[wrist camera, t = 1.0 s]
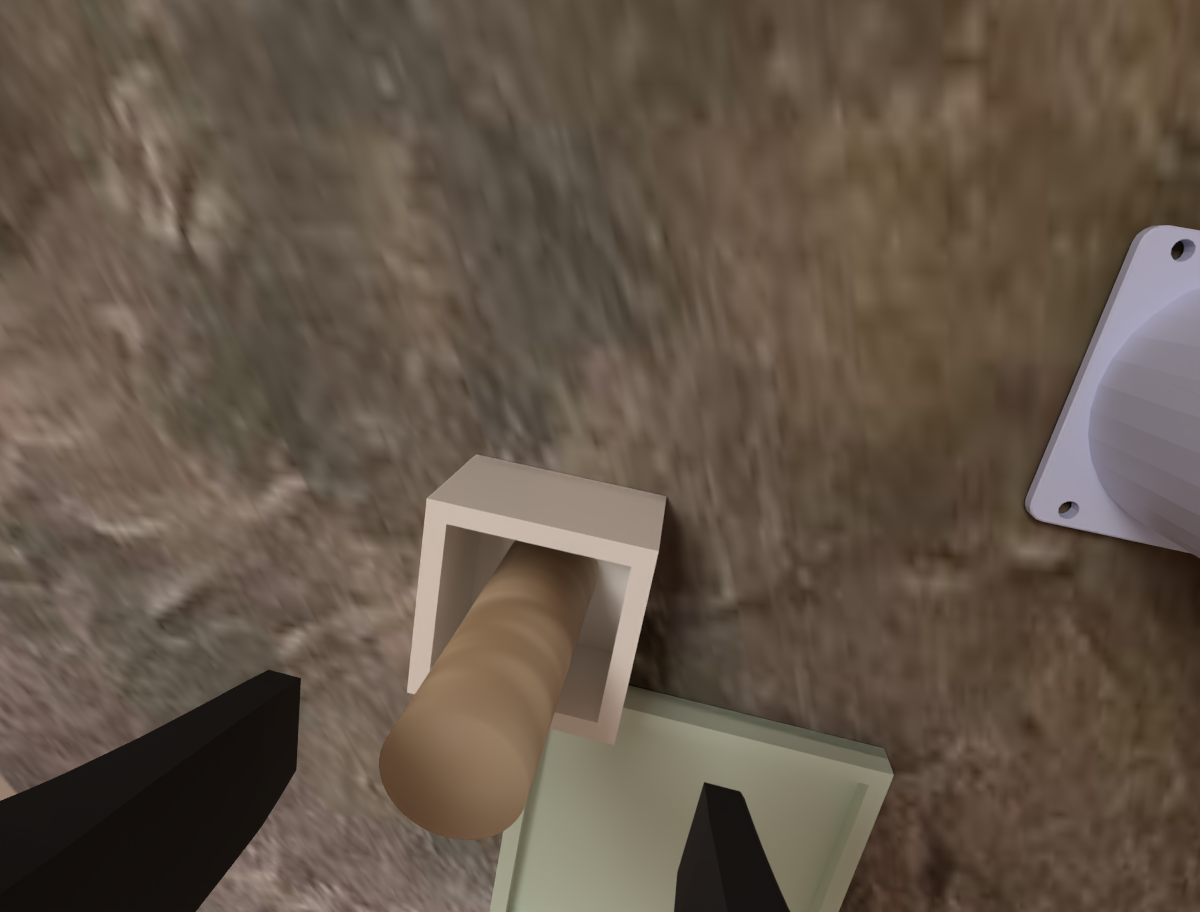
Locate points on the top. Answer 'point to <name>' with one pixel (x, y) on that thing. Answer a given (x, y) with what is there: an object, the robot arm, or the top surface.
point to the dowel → (490, 698)
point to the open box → (555, 520)
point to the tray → (686, 808)
